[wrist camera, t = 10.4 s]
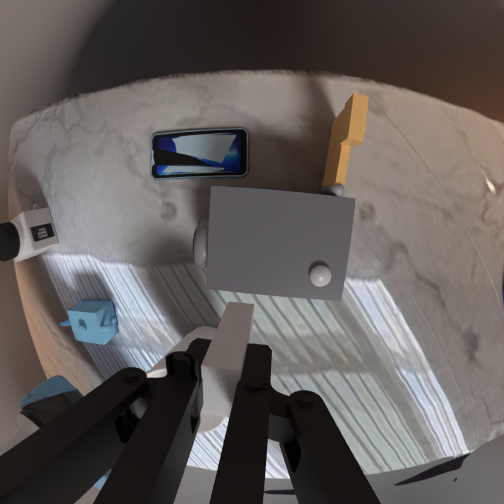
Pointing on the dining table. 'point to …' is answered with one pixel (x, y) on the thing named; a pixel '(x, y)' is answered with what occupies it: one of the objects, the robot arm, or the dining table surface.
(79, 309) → the teapot
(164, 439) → the robot arm
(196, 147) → the smartphone
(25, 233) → the container
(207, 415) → the cup
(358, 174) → the dining table surface
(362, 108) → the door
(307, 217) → the case
